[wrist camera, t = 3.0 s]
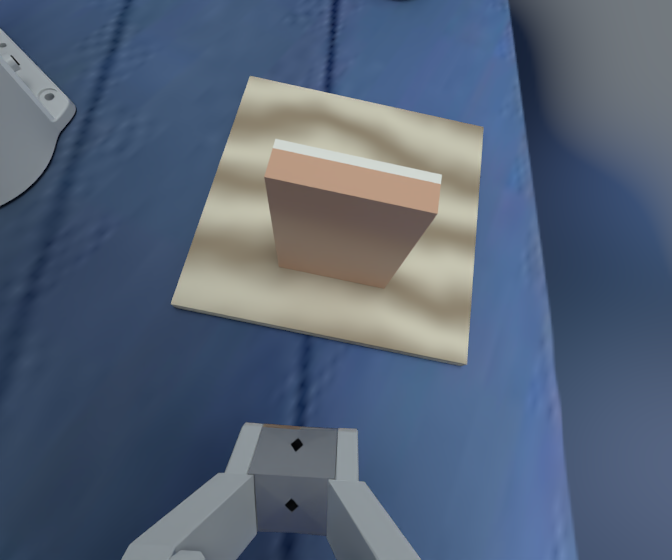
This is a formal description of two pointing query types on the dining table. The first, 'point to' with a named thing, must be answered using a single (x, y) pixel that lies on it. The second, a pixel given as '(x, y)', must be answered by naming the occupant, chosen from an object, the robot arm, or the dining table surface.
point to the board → (324, 292)
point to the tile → (346, 212)
